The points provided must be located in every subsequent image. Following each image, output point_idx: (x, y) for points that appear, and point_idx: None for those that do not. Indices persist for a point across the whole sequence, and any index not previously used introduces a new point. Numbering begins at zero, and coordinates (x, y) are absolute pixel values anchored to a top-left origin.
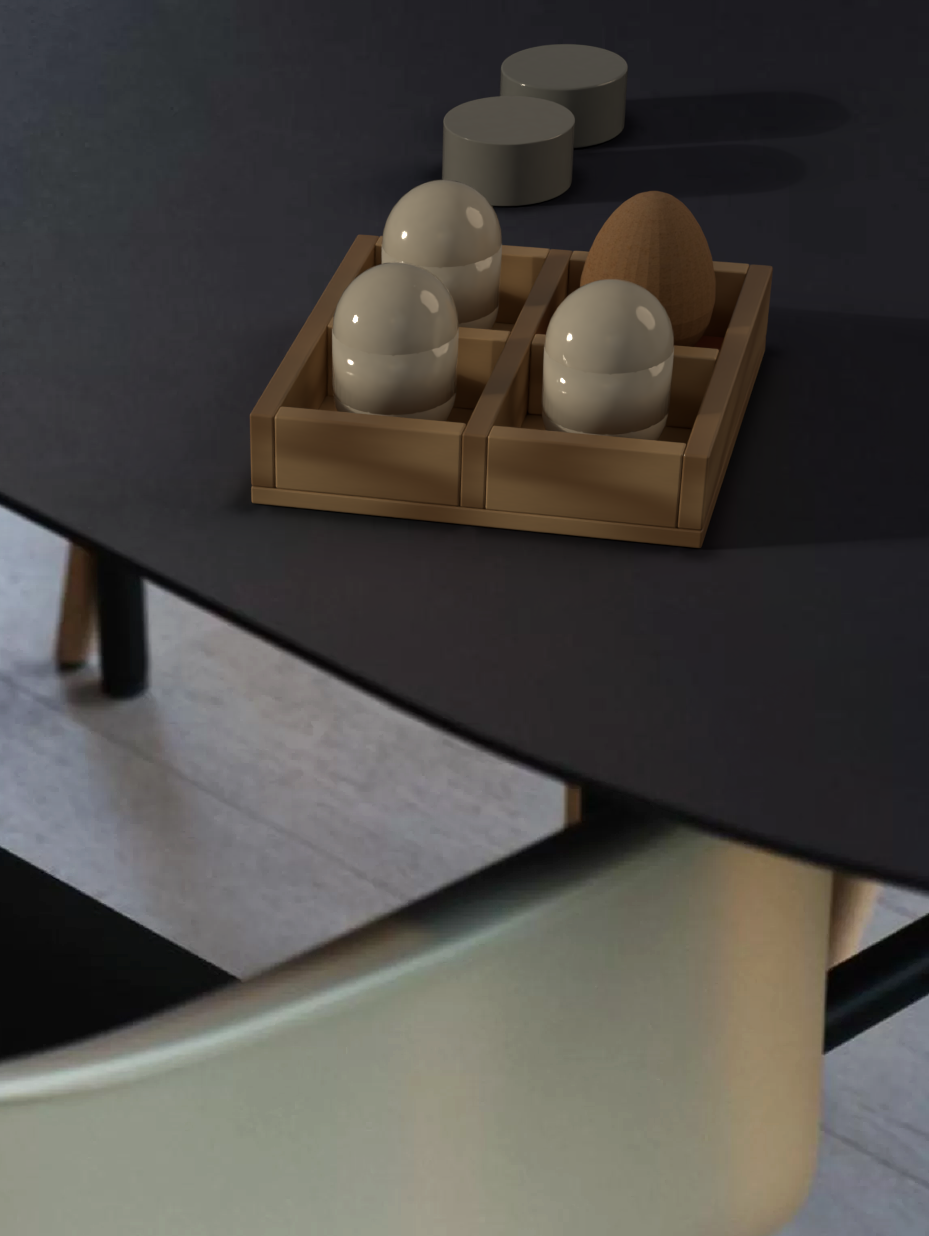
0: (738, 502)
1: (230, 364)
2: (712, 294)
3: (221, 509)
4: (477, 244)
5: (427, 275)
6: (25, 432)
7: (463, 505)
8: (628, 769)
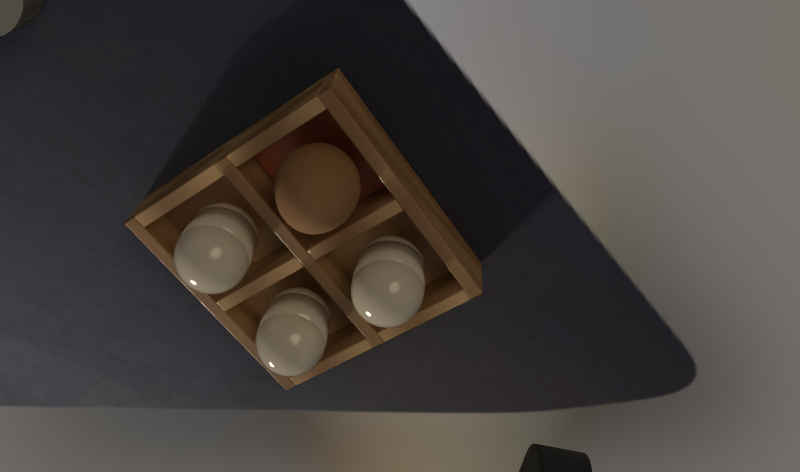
0: (461, 216)
1: (155, 275)
2: (354, 174)
3: None
4: (244, 267)
5: (296, 352)
6: (165, 375)
7: None
8: (581, 399)
